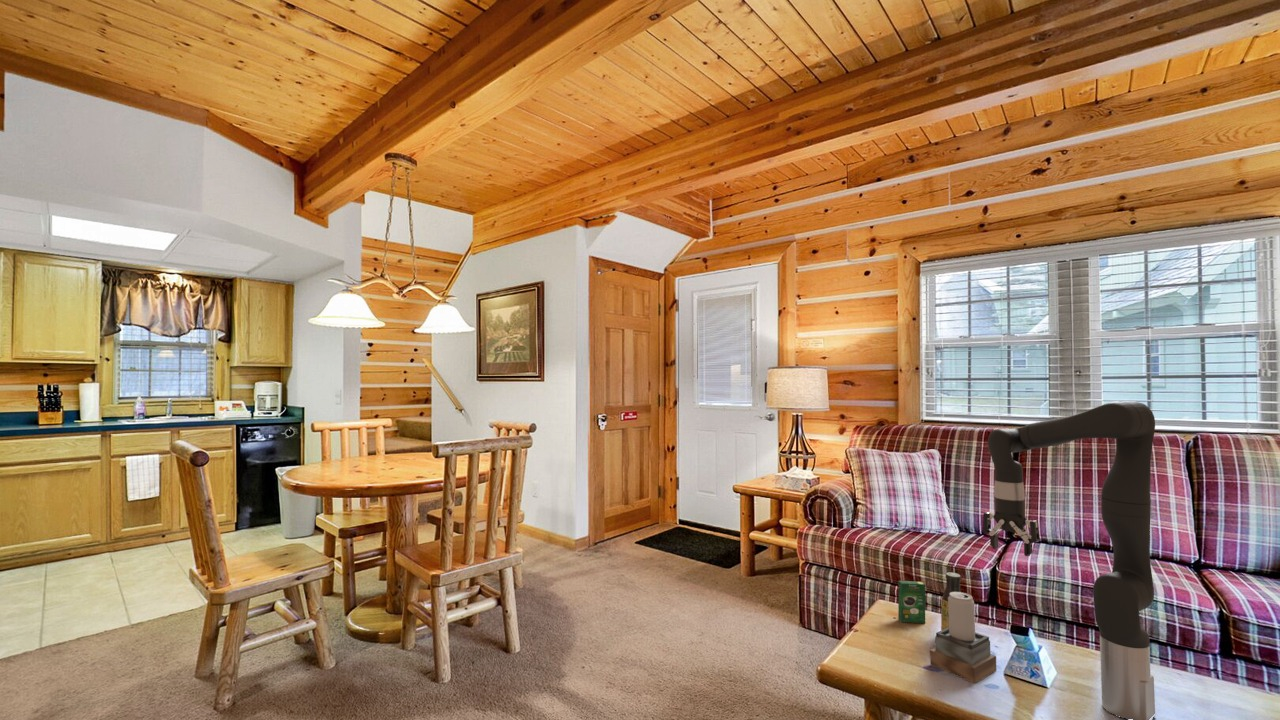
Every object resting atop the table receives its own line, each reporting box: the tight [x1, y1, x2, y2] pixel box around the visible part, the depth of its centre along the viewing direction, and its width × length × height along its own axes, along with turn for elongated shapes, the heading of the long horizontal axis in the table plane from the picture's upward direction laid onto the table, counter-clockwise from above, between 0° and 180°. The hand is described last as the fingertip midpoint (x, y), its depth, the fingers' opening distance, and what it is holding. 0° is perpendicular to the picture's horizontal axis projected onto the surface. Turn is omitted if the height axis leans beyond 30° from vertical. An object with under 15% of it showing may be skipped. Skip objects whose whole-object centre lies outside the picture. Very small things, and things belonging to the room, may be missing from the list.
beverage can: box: [948, 591, 976, 642], centre depth 158 cm, size 6×6×12 cm
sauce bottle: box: [940, 572, 962, 631], centre depth 176 cm, size 7×6×20 cm
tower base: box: [929, 627, 997, 684], centre depth 158 cm, size 12×12×9 cm
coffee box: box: [897, 580, 926, 624], centre depth 188 cm, size 8×3×13 cm, turn 85°
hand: (1010, 552), depth 165 cm, fingers open, 8 cm apart
